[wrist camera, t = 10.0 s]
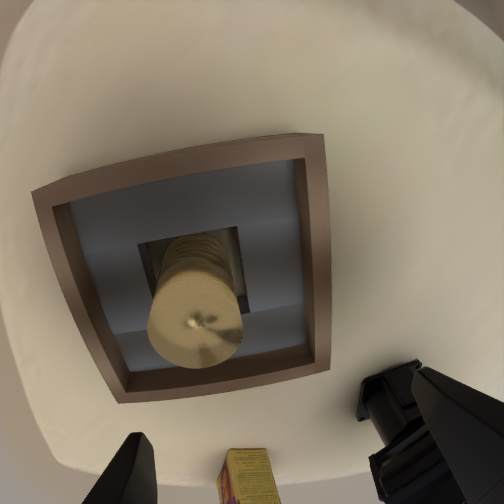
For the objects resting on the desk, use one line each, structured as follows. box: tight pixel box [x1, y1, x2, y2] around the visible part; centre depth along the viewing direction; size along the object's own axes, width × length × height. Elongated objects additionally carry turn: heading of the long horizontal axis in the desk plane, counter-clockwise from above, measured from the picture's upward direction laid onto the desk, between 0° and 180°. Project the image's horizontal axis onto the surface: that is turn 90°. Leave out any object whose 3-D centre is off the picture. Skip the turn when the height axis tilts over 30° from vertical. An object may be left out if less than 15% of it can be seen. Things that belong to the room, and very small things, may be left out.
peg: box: [147, 233, 243, 368], centre depth 16 cm, size 4×4×7 cm
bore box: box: [31, 133, 332, 404], centre depth 17 cm, size 14×14×4 cm
